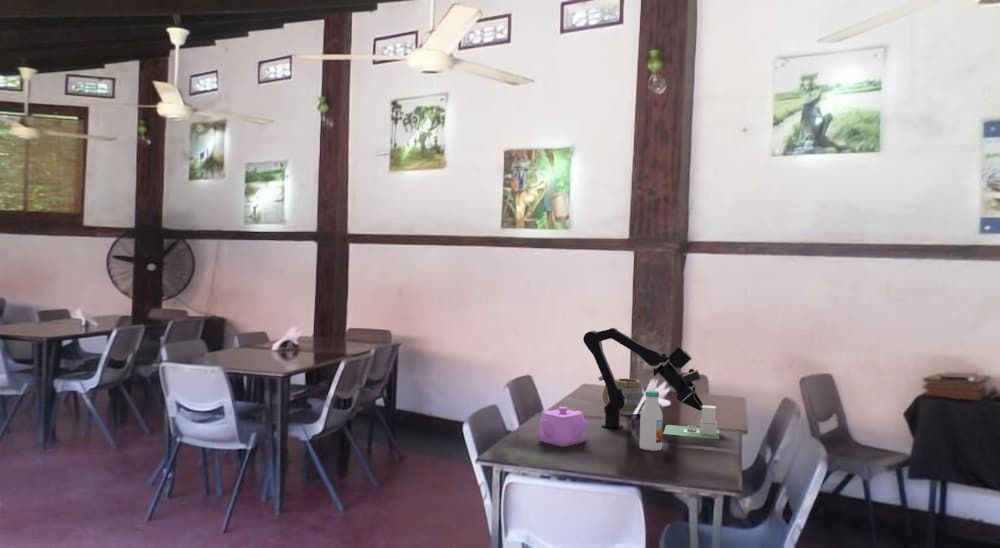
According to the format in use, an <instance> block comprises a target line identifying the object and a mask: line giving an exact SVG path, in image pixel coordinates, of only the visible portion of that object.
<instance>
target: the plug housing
mask: <svg viewBox="0 0 1000 548" xmlns="http://www.w3.org/2000/svg"><path fill="white" fill-rule="evenodd" d="M701 407H702V410H701V419H700V421H699V428H700V434H707V435H716V434H717V428H718V421H717V420H716V410H717V409H716V408H717V407H716V405H705V404H703V405H702V406H701Z"/></svg>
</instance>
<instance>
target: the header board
mask: <svg viewBox="0 0 1000 548" xmlns="http://www.w3.org/2000/svg"><path fill="white" fill-rule="evenodd" d="M663 434H664V435H672V436H682V437H683V436H684V437H693V438H702V439H704V438H705V439H713V440H720V429H717V434H716V435H707V434H700V427H697V425H693V424H691V425H690V424H687V426H684V425H673V424H666V425H665V427H664V431H663ZM663 434H662V435H663Z"/></svg>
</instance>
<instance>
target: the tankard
mask: <svg viewBox="0 0 1000 548" xmlns="http://www.w3.org/2000/svg"><path fill="white" fill-rule="evenodd" d="M598 381H599V382H601V381H604V379H603V377H602V375H601V376H599V377H598ZM615 381H616V383H617V385H618V386H619V387H620V388H621V387H624V391H625V393H626V394H627V397H626V398H627V401H626V404H625V405H624V406H623V408H621V409H620V410H619V411H620V415H621V414H623V416H632V415H631V414H632V413H633V412H634V410H635V408H636V407H637V405H638V403H639V402H640V400H641V398H642V397H641V393H643V387H642V382H641V380H639V379H636V378H625V377H624V378H621V377H620V378H617V379H616V378H615ZM602 401H603V403H604V405H605V406H606V405H607V404H608V403H609V402H610V401H609V397H608V390H607V386H606V384H605V383H604V388H603V392H602Z"/></svg>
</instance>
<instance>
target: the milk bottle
mask: <svg viewBox="0 0 1000 548" xmlns="http://www.w3.org/2000/svg"><path fill="white" fill-rule="evenodd" d="M659 396H660V392H659V391H657V390H646V391H645V402H644V405H643V407H642V411H641V414H640V417H639V419H640V421H639V422H640V423H639V448H640V449H641V450H644V451H649V450H650V451H651V452H656V451H658V450H659V451H661V450H662V449H663V432H664V431H663V429H664V427H663V426H664V420H663V419H664V416H663V411H662V409H661V408H662V407H661V406H660V403H659V399H660V397H659Z"/></svg>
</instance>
